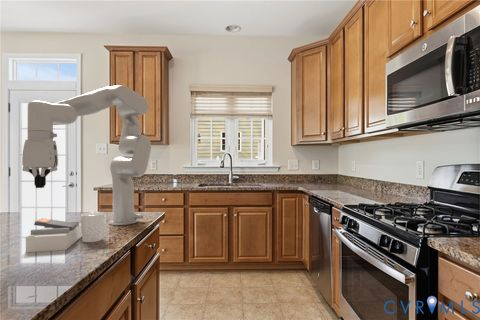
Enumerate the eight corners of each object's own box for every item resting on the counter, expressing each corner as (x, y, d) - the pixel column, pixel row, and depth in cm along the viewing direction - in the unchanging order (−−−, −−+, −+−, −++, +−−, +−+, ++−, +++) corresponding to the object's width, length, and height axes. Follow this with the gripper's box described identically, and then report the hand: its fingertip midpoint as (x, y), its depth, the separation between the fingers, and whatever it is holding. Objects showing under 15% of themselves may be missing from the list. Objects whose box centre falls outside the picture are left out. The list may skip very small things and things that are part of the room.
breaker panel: (82, 236, 117) (82, 219, 117) (66, 249, 100) (65, 230, 100) (48, 237, 115) (48, 221, 115) (25, 252, 97) (25, 232, 97)
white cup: (108, 238, 114) (108, 212, 114) (92, 243, 107) (92, 216, 107) (92, 236, 117) (92, 211, 117) (75, 241, 109) (75, 214, 109)
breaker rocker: (76, 226, 111) (77, 222, 111) (71, 230, 106) (72, 226, 106) (41, 221, 109) (42, 217, 109) (34, 225, 103) (34, 221, 103)
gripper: (67, 137, 111) (66, 186, 111) (21, 136, 108) (21, 187, 108) (59, 136, 104) (59, 188, 104) (10, 135, 100) (10, 189, 100)
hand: (40, 187), depth 106 cm, fingers closed
